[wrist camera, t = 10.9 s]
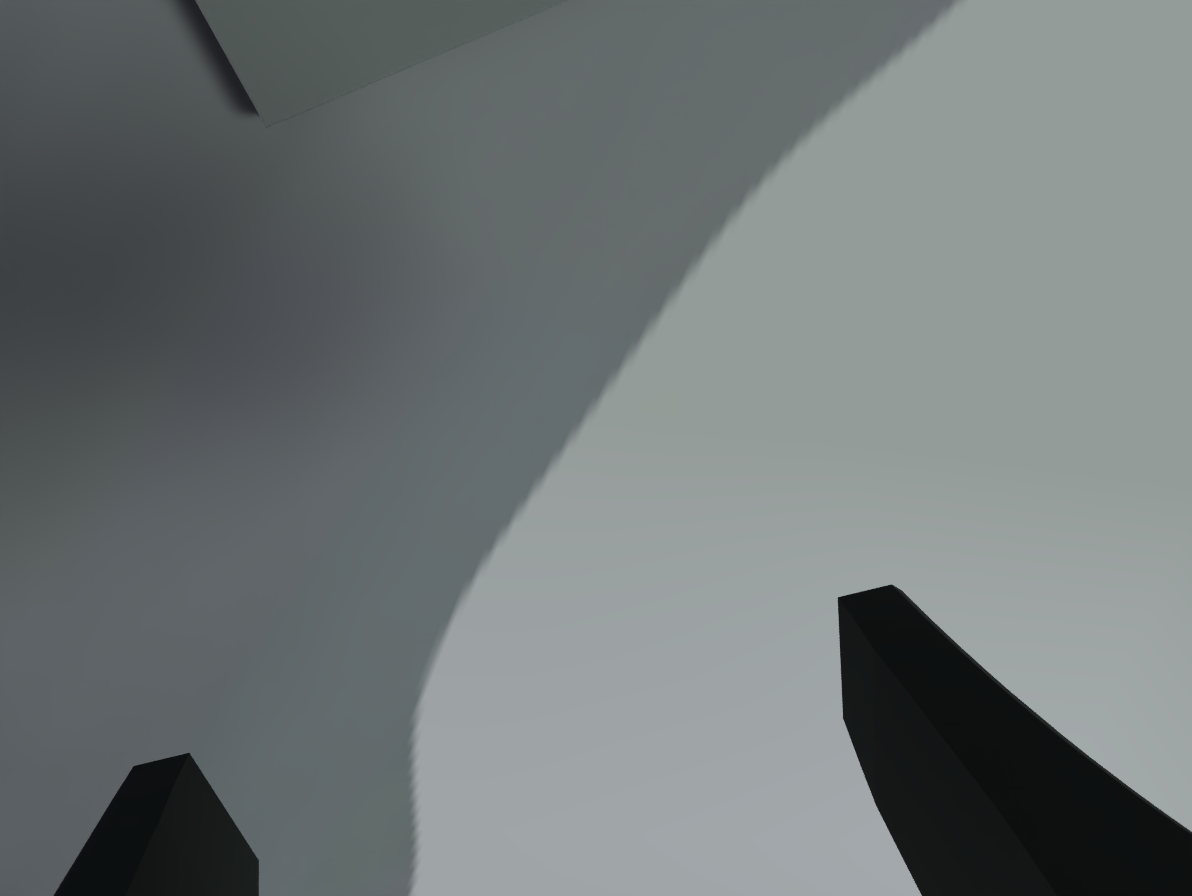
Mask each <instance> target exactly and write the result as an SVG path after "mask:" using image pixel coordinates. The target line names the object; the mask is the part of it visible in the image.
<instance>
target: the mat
mask: <svg viewBox="0 0 1192 896" xmlns="http://www.w3.org/2000/svg"><path fill="white" fill-rule="evenodd" d="M195 1H196V3H197V5H198V6H199V8H200V10H201V12H202V14H203V15H204V17H205V19H206V21H207V22H208V24H209V26H210V28H211V30H212V31H213V33H214V35H215V37H216V39H217V40H218V42H219V44H220V46H221V47H222V49H223V51H224V53H225V55H226V56H227V58H228V60H229V62H230V64H231V65H232V67H233V69H234V71H235V72H236V74H237V76H238V78H239V80H240V81H241V83H242V85H243V87H244V88H245V90H246V92H247V94H248V96H249V97H250V99H251V101H252V103H253V105H254V106H255V108H256V110H257V112H258V113H259V115H260V117H261V119H262V121H263V122H264V124H265V126H266V127H269V126H271V125H274V124H276V123H278V122H281V121H283V120H285V119H288V118H290V117H293V116H295V115H297V114H300V113H302V112H304V111H307V110H309V109H312V108H314V107H316V106H319V105H321V104H323V103H326V102H328V101H330V100H333V99H335V98H338V97H340V96H342V95H345V94H347V93H349V92H352V91H354V90H357V89H359V88H361V87H364V86H366V85H368V84H371V83H373V82H376V81H378V80H380V79H383V78H385V77H387V76H390V75H392V74H395V73H397V72H399V71H402V70H404V69H406V68H409V67H411V66H413V65H416V64H418V63H421V62H423V61H425V60H428V59H430V58H432V57H435V56H437V55H440V54H442V53H444V52H447V51H449V50H451V49H454V48H456V47H459V46H461V45H463V44H466V43H468V42H470V41H473V40H475V39H478V38H480V37H482V36H485V35H487V34H489V33H492V32H494V31H496V30H499V29H501V28H504V27H506V26H508V25H511V24H513V23H515V22H518V21H520V20H523V19H525V18H527V17H530V16H532V15H534V14H537V13H539V12H542V11H544V10H546V9H549V8H551V7H553V6H556V5H558V4H561V3H563V2H565V1H568V0H195Z"/></svg>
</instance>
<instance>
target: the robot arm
mask: <svg viewBox="0 0 1192 896" xmlns="http://www.w3.org/2000/svg"><path fill="white" fill-rule="evenodd" d="M838 613H839V633H840V634H839V635H840V657H841V677H842V678H841V679H842V701H843V719H844V722H845V724H846V727H847V730H848V732H849V735H850V738H851V740H852V743H853V746H854V749H855V751H856V754H857V757H858V759H859V762H860V765H861V767H862V770H863V773H864V775H865V778H866V780H867V783H868V785H869V788H870V791H871V793H872V796H873V798H874V801H875V803H876V806H877V808H878V810H879V812H880V814H881V816H882V818H883V820H884V822H885V823H886V826H887V828H888V830H889V832H890V834H891V835H892V838H893V840H894V842H895V844H896V845H897V848H898V850H899V851H900V853H901V855H902V857H903V859H904V861H905V863H906V865H907V867H908V869H909V871H910V873H911V875H912V877H913V879H914V881H915V883H916V885H917V887H918V889H919V891H920V893H921V895H922V896H1192V832H1191V831H1190V830H1188V829H1187V828H1185V827H1184V826H1182V825H1181V824H1179V823H1178V822H1177V821H1175V820H1174V819H1172V818H1171V817H1169V816H1168V815H1167V814H1165V813H1164V812H1163V811H1161V810H1159V809H1158V808H1157V807H1155V806H1154V805H1153V804H1151V803H1150V802H1149V801H1147V800H1146V799H1145V798H1143V797H1142V796H1140V795H1139V794H1138V793H1136V792H1135V791H1134V790H1132V789H1131V788H1130V787H1128V786H1127V785H1126V784H1124V783H1123V782H1122V781H1121V780H1119V779H1118V778H1117V777H1115V776H1114V775H1113V774H1111V773H1110V772H1109V771H1107V770H1106V769H1105V768H1103V767H1102V766H1101V765H1099V764H1098V763H1097V762H1096V761H1094V760H1093V759H1092V758H1090V757H1089V756H1088V755H1086V754H1085V753H1084V752H1083V751H1082V750H1080V749H1079V748H1078V747H1077V746H1075V745H1074V744H1073V743H1071V742H1070V741H1069V740H1068V739H1066V738H1065V737H1064V736H1063V735H1061V734H1060V733H1059V732H1058V731H1057V730H1055V729H1054V728H1053V727H1052V726H1051V725H1049V724H1048V723H1047V722H1046V721H1045V720H1043V719H1042V718H1041V717H1040V716H1039V715H1038V714H1036V713H1035V712H1034V711H1033V710H1032V709H1030V708H1029V707H1028V706H1027V705H1026V704H1024V703H1023V702H1022V701H1021V700H1020V699H1018V698H1017V697H1016V696H1015V695H1013V694H1012V693H1011V692H1010V691H1009V690H1008V689H1006V688H1005V687H1004V686H1003V685H1002V684H1001V683H1000V682H999V681H998V680H996V679H995V678H994V677H993V676H992V675H991V674H990V673H988V672H987V671H986V670H985V669H984V668H983V667H982V666H981V665H979V664H978V663H977V662H976V661H975V660H974V659H973V658H972V657H971V656H970V655H969V654H967V653H966V652H965V651H964V650H963V649H962V648H961V647H960V646H959V645H958V644H957V643H955V642H954V641H953V640H952V639H951V638H950V637H949V636H948V635H947V634H946V633H945V632H944V631H943V630H942V629H941V628H940V627H938V626H937V625H936V624H935V623H934V622H933V621H932V620H931V619H930V618H929V617H928V616H927V615H926V614H925V613H924V612H923V611H922V610H921V609H920V608H919V607H918V606H917V605H916V604H915V603H914V602H913V601H912V600H911V599H910V598H909V597H908V596H907V595H906V594H905V593H904V592H903V591H901V590H900V589H898V588H897V587H895V586H893V585H888V586H883V587H880V588H876V589H871V590H867V591H863V592H859V593H854V594H850V595H846V596H842V597H838ZM54 896H259V860H258V859H257V857H256V856H255V854H254V853H253V851H252V849H251V848H250V846H249V845H248V843H247V842H246V840H245V839H244V837H243V835H242V834H241V832H240V831H239V829H238V828H237V826H236V825H235V823H234V821H233V820H232V818H231V817H230V815H229V814H228V812H227V811H226V809H225V808H224V806H223V804H222V803H221V801H220V800H219V798H218V797H217V795H216V794H215V792H214V790H213V789H212V787H211V786H210V784H209V783H208V781H207V780H206V778H205V776H204V775H203V773H202V772H201V770H200V769H199V767H198V766H197V764H196V763H195V761H194V759H193V758H192V756H191V755H190V753H187V754H183V755H178V756H174V757H170V758H166V759H162V760H158V761H153V762H149V763H145V764H141V765H137V766H134V767H133V768H132V770H131V771H130V773H129V774H128V776H127V778H126V779H125V781H124V782H123V784H122V785H121V787H120V789H119V790H118V792H117V793H116V795H115V796H114V798H113V800H112V801H111V803H110V804H109V806H108V808H107V809H106V811H105V813H104V814H103V816H102V817H101V819H100V821H99V822H98V824H97V826H96V827H95V829H94V831H93V832H92V834H91V835H90V837H89V839H88V840H87V842H86V844H85V845H84V847H83V849H82V850H81V852H80V853H79V855H78V857H77V858H76V860H75V862H74V863H73V865H72V867H71V868H70V870H69V871H68V873H67V875H66V876H65V878H64V880H63V881H62V883H61V884H60V886H59V888H58V889H57V891H56V893H55V894H54Z"/></svg>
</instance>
